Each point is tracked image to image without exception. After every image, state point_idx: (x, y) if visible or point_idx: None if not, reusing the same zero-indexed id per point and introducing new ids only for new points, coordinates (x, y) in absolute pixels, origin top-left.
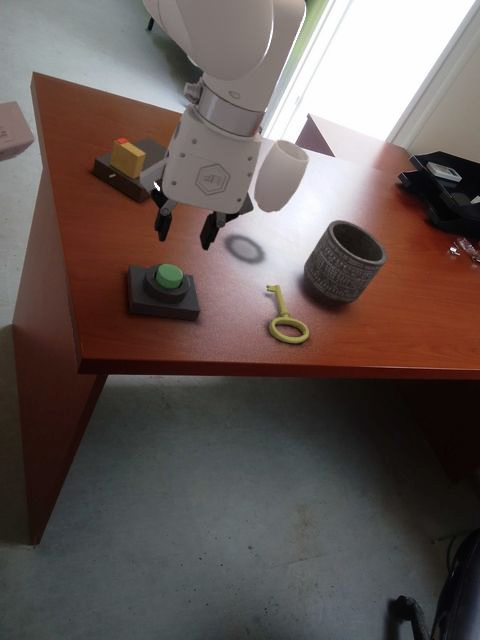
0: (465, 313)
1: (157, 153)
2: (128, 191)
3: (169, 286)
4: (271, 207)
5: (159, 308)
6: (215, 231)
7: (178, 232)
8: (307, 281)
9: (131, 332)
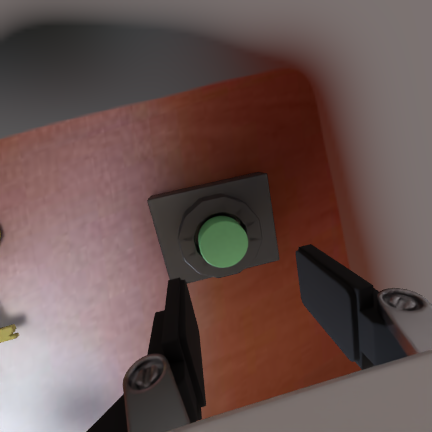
0: None
1: None
2: None
3: (218, 217)
4: None
5: (220, 182)
6: (163, 331)
7: (204, 384)
8: None
9: (251, 130)
